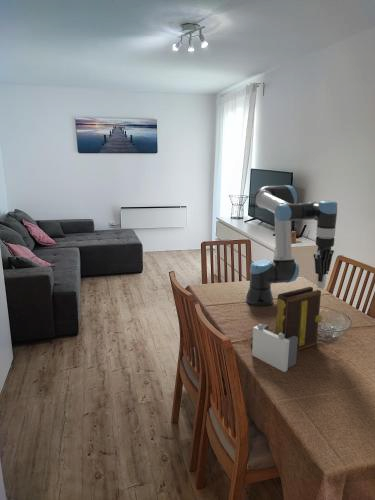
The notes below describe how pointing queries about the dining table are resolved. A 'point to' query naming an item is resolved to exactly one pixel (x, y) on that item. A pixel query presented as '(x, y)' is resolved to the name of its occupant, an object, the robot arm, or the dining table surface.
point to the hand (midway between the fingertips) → (321, 287)
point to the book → (299, 315)
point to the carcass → (274, 348)
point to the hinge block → (252, 340)
